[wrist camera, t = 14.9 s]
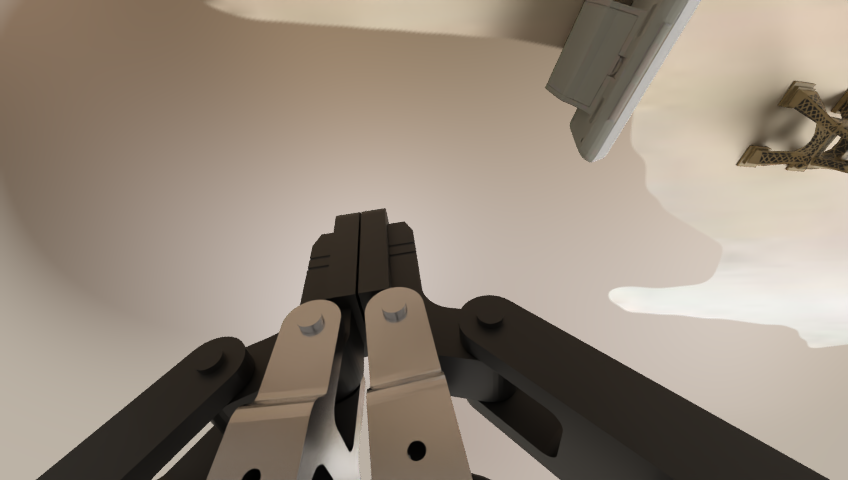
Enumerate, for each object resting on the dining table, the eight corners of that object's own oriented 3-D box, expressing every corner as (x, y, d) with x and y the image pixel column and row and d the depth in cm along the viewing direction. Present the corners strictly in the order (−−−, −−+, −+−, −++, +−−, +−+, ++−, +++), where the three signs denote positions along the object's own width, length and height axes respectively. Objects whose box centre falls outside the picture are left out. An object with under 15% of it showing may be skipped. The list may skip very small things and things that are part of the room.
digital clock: (575, 138, 44) (621, 181, 36) (515, 105, 41) (551, 144, 33) (686, -6, 36) (780, 6, 28) (622, -62, 33) (706, -67, 25)
